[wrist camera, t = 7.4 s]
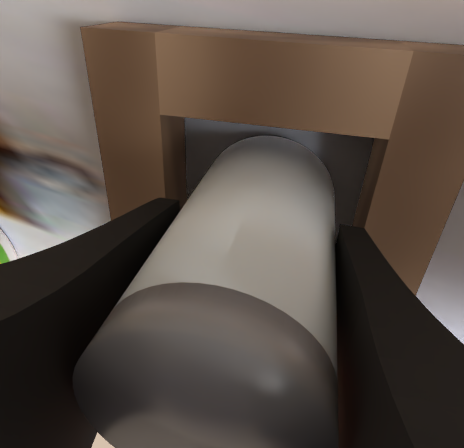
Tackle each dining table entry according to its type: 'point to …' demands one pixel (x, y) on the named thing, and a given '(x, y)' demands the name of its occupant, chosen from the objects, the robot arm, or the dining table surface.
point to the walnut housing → (286, 115)
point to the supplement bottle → (6, 249)
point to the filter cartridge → (228, 316)
